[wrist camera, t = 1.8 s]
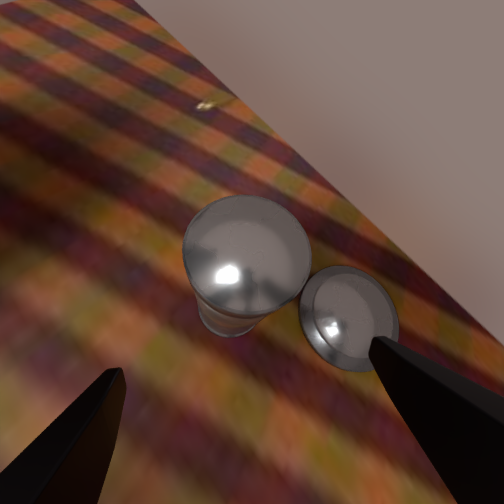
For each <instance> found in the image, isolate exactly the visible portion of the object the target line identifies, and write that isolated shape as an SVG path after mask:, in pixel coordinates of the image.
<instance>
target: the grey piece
mask: <svg viewBox="0 0 504 504" xmlns="http://www.w3.org/2000/svg"><path fill="white" fill-rule="evenodd" d="M182 253H183V262H184V266H185V270H186V273H187V276H188V279H189V281H190V284H191V286H192V288H193V290H194V291H195V295H196V299H197V302H198V310H199V314H200V317H201V320H202V322H203V323H204V325H205V326H206V327H207V328H208V330H210V331H211V332H212V333H214V334H216V335H218V336H221V337H225V338H234V337H238V336H241V335H243V334H245V333H247V332H248V331H250V330H251V329H252V328H253V327H254V326H255V325H256V324H257V323H258V322H259V321H260V320H262V319H263V318H264V317H266V316H267V315H269V314H271V313H273V312H275V311H277V310H278V309H280V308H281V307H283V306H284V305H286V304H287V303H288V302H290V301H291V300H292V299H293V298H294V297H296V296H297V294H298V293H299V292H300V291H301V290H302V288H303V286H304V285H305V283H306V281H307V279H308V276H309V273H310V269H311V262H312V253H311V247H310V243H309V239H308V237H307V235H306V232H305V230H304V229H303V227H302V225H301V224H300V223H299V221H298V220H297V219H296V218H295V217H294V216H293V215H292V214H291V213H290V212H289V211H288V210H287V209H285V208H284V207H282V206H281V205H279V204H277V203H275V202H273V201H271V200H268V199H266V198H262V197H259V196H253V195H234V196H228V197H224V198H221V199H218V200H216V201H214V202H212V203H210V204H208V205H207V206H206V207H204V208H203V209H202V210H200V211H199V212H198V213H197V214H196V216H195V217H194V218H193V219H192V221H191V222H190V224H189V226H188V228H187V230H186V233H185V236H184V240H183V248H182Z"/></svg>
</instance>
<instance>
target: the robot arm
mask: <svg viewBox="0 0 504 504" xmlns="http://www.w3.org/2000/svg"><path fill="white" fill-rule="evenodd" d="M368 356H369V359H370V361H371V363H372V365H373V367H374V369H375V371H376V373H377V375H378V376H379V378H380V380H381V382H382V384H383V386H384V388H385V390H386V392H387V393H388V395H389V397H390V399H391V400H392V402H393V404H394V405H395V407H396V408H397V410H398V412H399V413H400V415H401V416H402V418H403V419H404V421H405V423H406V424H407V426H408V427H409V429H410V430H411V432H412V433H413V435H414V437H415V438H416V440H417V441H418V443H419V444H420V446H421V447H422V449H423V451H424V452H425V454H426V455H427V457H428V458H429V460H430V461H431V463H432V465H433V466H434V468H435V469H436V471H437V472H438V474H439V476H440V477H441V479H442V480H443V482H444V483H445V485H446V486H447V488H448V490H449V491H450V493H451V494H452V496H453V497H454V499H455V500H456V502H457V504H504V397H502V396H500V395H498V394H497V393H495V392H493V391H491V390H489V389H487V388H485V387H483V386H481V385H479V384H477V383H475V382H473V381H471V380H469V379H467V378H465V377H463V376H462V375H460V374H458V373H456V372H454V371H452V370H450V369H448V368H446V367H444V366H442V365H440V364H438V363H436V362H434V361H432V360H430V359H428V358H426V357H425V356H423V355H421V354H419V353H417V352H415V351H413V350H411V349H409V348H407V347H405V346H403V345H401V344H399V343H397V342H395V341H393V340H391V339H389V338H388V337H386V336H375V337H373V338H372V341H371V344H370V348H369V351H368ZM125 396H126V382H125V378H124V373H123V370H122V368H120V367H118V368H110V369H107V370H105V371H104V372H103V373H102V374H101V375H100V376H99V377H98V378H97V379H96V380H95V381H94V382H93V383H92V384H91V385H90V386H89V387H88V388H87V389H86V390H85V391H84V392H83V393H82V394H81V395H80V396H79V397H78V398H77V399H76V400H75V401H74V402H72V403H71V404H70V405H69V406H68V407H67V408H66V409H65V410H64V411H63V412H62V413H61V414H60V415H59V416H58V417H57V418H56V419H55V420H54V421H53V422H52V423H51V424H50V425H49V426H48V427H47V428H46V429H45V430H44V431H43V432H42V433H41V434H40V435H39V436H38V437H37V438H36V439H35V440H34V441H33V442H32V443H31V444H30V445H29V446H27V447H26V448H25V449H24V450H23V451H22V452H21V453H20V454H19V455H18V456H17V457H16V458H15V459H14V460H13V461H12V462H11V463H10V464H9V465H8V466H7V467H6V468H5V469H4V470H3V471H2V472H1V473H0V504H97V503H98V500H99V497H100V493H101V490H102V487H103V484H104V481H105V477H106V474H107V471H108V468H109V465H110V461H111V458H112V455H113V451H114V448H115V443H116V439H117V434H118V429H119V425H120V420H121V415H122V410H123V405H124V401H125Z"/></svg>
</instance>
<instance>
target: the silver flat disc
mask: <svg viewBox="0 0 504 504" xmlns="http://www.w3.org/2000/svg"><path fill="white" fill-rule="evenodd" d="M298 313H299V321H300V325H301V328H302V331H303V334H304V336H305V338H306V340H307V341H308V343H309V344H310V346H311V347H312V349H313V350H314V351H315V352H316V353H317V354H318V355H319V356H320V357H321V358H322V359H323V360H325V361H326V362H327V363H329V364H331V365H333V366H334V367H337V368H339V369H342V370H346V371H353V372H366V371H371V370H374V367H373V365H372V363H371V361H370V359H369V356H368V351H369V348H370V344H371V341H372V338H373V337H375V336H386V337H388V338H389V339H391V340H393V341H395V342H398V337H399V322H398V316H397V313H396V310H395V307H394V305H393V302H392V300H391V299H390V297H389V295H388V294H387V292H386V291H385V290H384V288H383V287H382V286H381V285H380V284H379V283H378V282H377V281H376V280H375V279H374V278H372V277H371V276H370V275H368V274H367V273H365V272H363V271H361V270H359V269H356V268H353V267H349V266H331V267H328V268H325V269H323V270H321V271H319V272H317V273H316V274H315V275H314V276H313V277H311V278H310V279H309V280H308V282H307V283H306V284H305V286H304V288H303V290H302V292H301V295H300V299H299V306H298Z"/></svg>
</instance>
